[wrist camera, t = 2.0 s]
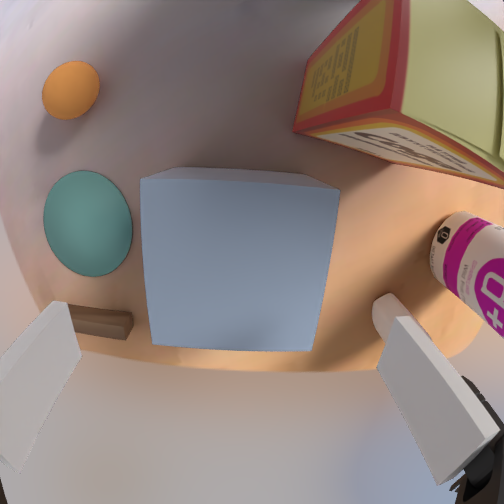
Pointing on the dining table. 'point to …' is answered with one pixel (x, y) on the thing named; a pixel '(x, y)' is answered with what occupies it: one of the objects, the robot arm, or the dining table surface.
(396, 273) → the dining table surface
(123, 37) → the dining table surface
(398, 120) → the baking soda box
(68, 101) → the ball
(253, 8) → the dining table surface
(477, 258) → the supplement can
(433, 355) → the robot arm
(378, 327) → the eye dropper bottle
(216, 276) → the light blue block
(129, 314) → the block
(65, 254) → the disc
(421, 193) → the dining table surface
